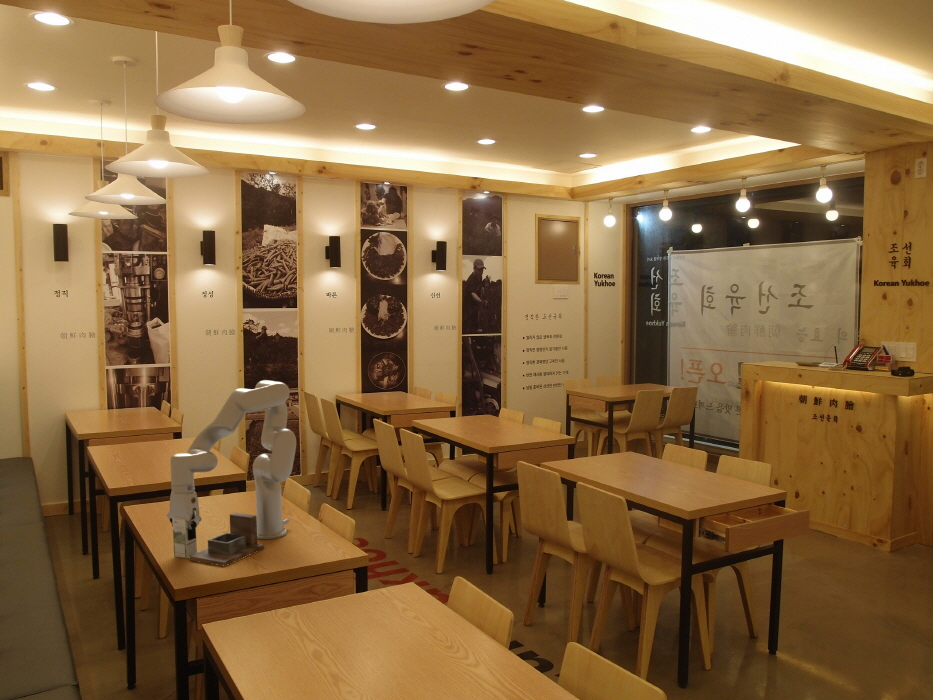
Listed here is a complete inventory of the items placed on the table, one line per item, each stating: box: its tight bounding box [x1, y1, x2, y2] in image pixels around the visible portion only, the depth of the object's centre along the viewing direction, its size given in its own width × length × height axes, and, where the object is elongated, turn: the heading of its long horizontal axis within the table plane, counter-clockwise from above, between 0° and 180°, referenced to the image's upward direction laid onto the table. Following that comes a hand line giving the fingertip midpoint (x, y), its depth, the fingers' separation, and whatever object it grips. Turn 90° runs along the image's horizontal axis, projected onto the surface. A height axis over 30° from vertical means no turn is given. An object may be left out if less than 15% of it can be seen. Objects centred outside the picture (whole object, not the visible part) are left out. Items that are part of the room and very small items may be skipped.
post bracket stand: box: [189, 512, 265, 567], centre depth 262 cm, size 20×16×12 cm
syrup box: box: [172, 517, 198, 559], centre depth 261 cm, size 6×6×14 cm
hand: (184, 537), depth 261 cm, fingers closed on syrup box, 6 cm apart
